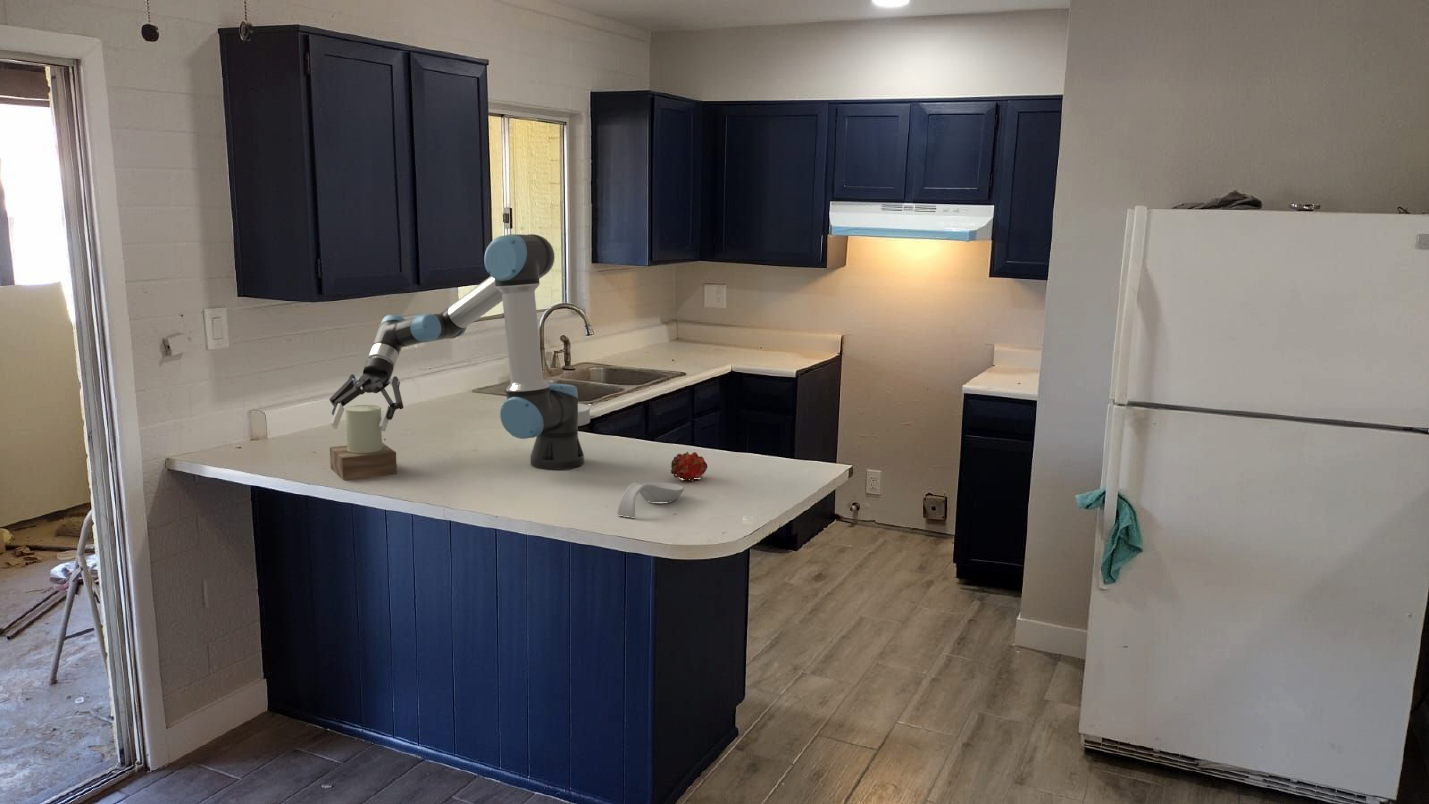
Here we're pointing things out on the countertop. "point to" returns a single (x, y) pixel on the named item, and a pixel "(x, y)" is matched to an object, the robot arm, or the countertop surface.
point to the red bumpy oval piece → (688, 466)
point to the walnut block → (362, 463)
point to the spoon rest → (647, 495)
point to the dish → (583, 414)
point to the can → (363, 429)
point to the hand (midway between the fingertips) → (357, 427)
